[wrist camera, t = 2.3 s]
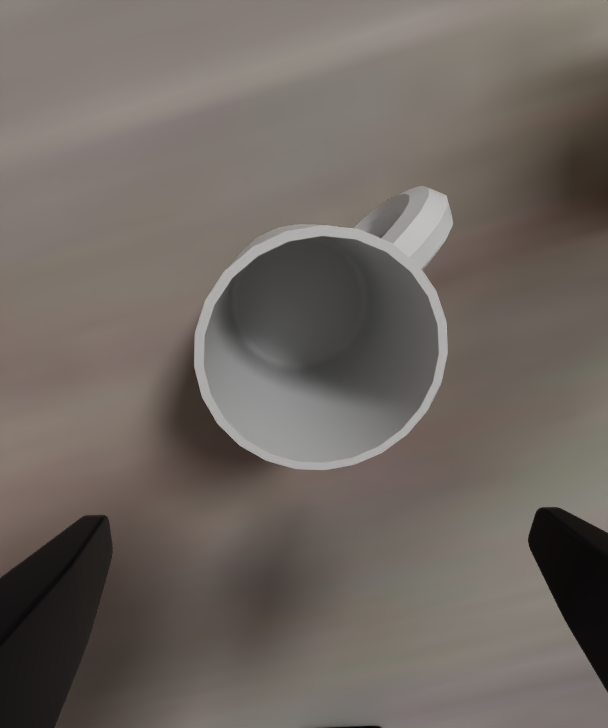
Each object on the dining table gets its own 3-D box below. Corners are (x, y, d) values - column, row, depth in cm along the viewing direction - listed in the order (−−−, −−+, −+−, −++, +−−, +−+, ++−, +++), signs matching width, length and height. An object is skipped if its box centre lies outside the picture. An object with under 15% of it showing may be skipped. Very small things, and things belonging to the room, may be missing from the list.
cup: (191, 306, 20) (138, 369, 11) (339, 138, 18) (405, 65, 10) (301, 399, 22) (325, 510, 13) (444, 256, 20) (573, 280, 12)
